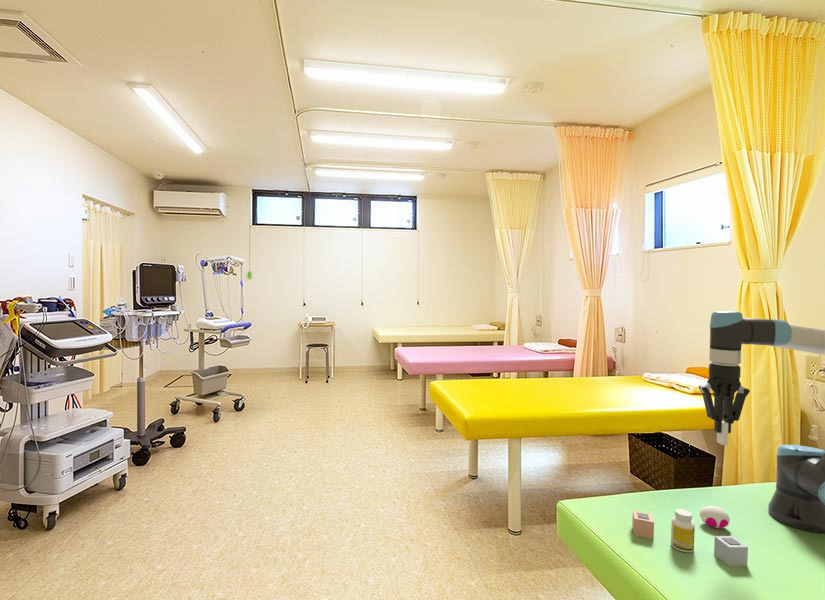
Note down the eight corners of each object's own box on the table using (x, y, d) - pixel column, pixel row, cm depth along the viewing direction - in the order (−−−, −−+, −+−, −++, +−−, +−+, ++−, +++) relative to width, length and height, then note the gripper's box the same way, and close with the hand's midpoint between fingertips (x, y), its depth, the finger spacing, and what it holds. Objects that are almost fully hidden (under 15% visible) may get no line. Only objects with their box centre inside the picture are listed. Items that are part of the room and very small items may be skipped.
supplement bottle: (697, 554, 115) (698, 518, 114) (675, 551, 116) (676, 516, 116) (688, 543, 120) (689, 508, 120) (667, 540, 121) (668, 506, 121)
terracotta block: (651, 530, 126) (651, 513, 126) (653, 539, 121) (654, 521, 121) (632, 527, 128) (632, 509, 128) (633, 535, 123) (634, 517, 123)
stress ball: (702, 537, 129) (706, 526, 125) (695, 512, 135) (698, 500, 131) (732, 542, 126) (736, 530, 123) (723, 515, 133) (727, 503, 129)
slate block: (731, 554, 115) (732, 535, 115) (747, 566, 110) (747, 546, 110) (714, 554, 115) (714, 535, 115) (728, 566, 110) (729, 546, 110)
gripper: (740, 362, 128) (737, 440, 129) (694, 360, 130) (691, 437, 130) (757, 366, 121) (754, 449, 121) (708, 364, 122) (705, 446, 123)
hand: (722, 443), depth 126 cm, fingers closed
